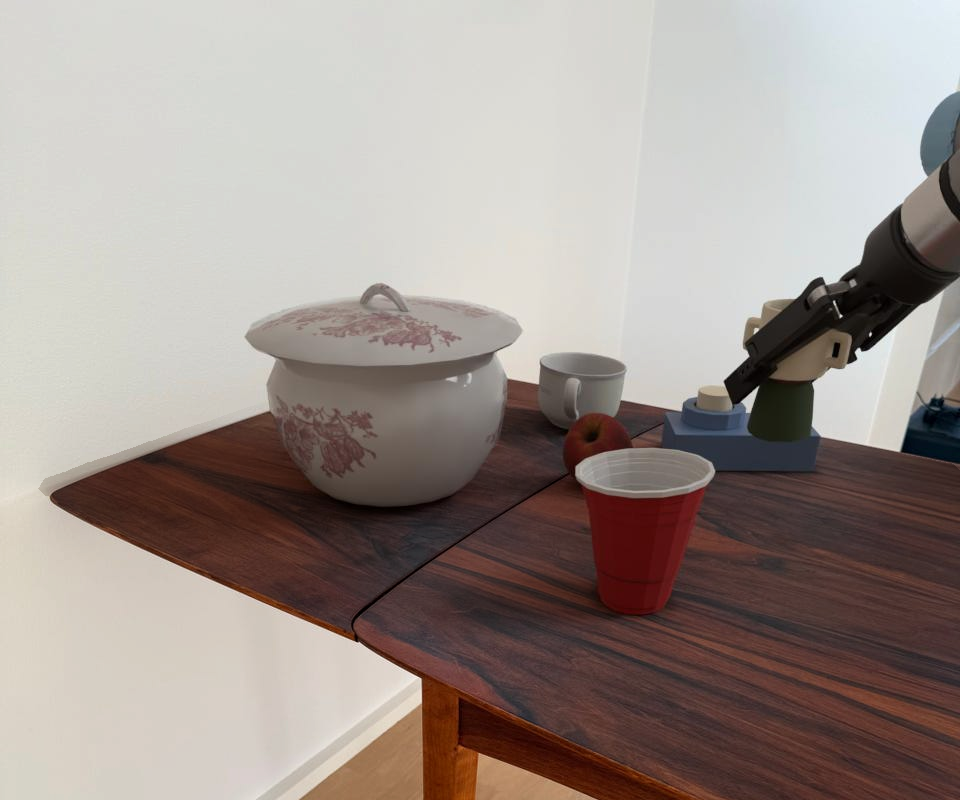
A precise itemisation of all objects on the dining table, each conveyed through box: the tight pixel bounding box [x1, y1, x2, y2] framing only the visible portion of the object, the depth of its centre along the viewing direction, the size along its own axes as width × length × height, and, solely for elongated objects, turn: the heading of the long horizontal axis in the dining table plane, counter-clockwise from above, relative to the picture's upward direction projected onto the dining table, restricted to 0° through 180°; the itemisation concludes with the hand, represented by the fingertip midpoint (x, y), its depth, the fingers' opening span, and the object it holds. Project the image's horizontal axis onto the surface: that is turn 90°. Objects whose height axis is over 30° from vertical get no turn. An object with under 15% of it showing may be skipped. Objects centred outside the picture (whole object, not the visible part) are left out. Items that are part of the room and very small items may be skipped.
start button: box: [696, 385, 732, 411], centre depth 100 cm, size 4×4×2 cm
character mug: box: [742, 298, 852, 442], centre depth 87 cm, size 11×7×13 cm, turn 46°
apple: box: [562, 413, 634, 485], centre depth 94 cm, size 7×8×8 cm
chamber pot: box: [244, 282, 524, 508], centre depth 91 cm, size 28×28×21 cm
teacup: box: [537, 351, 628, 431], centre depth 110 cm, size 14×11×8 cm
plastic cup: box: [575, 447, 716, 616], centre depth 72 cm, size 11×11×12 cm
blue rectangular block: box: [660, 396, 821, 473], centre depth 101 cm, size 16×8×6 cm, turn 88°
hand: (761, 387), depth 90 cm, fingers closed on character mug, 7 cm apart
